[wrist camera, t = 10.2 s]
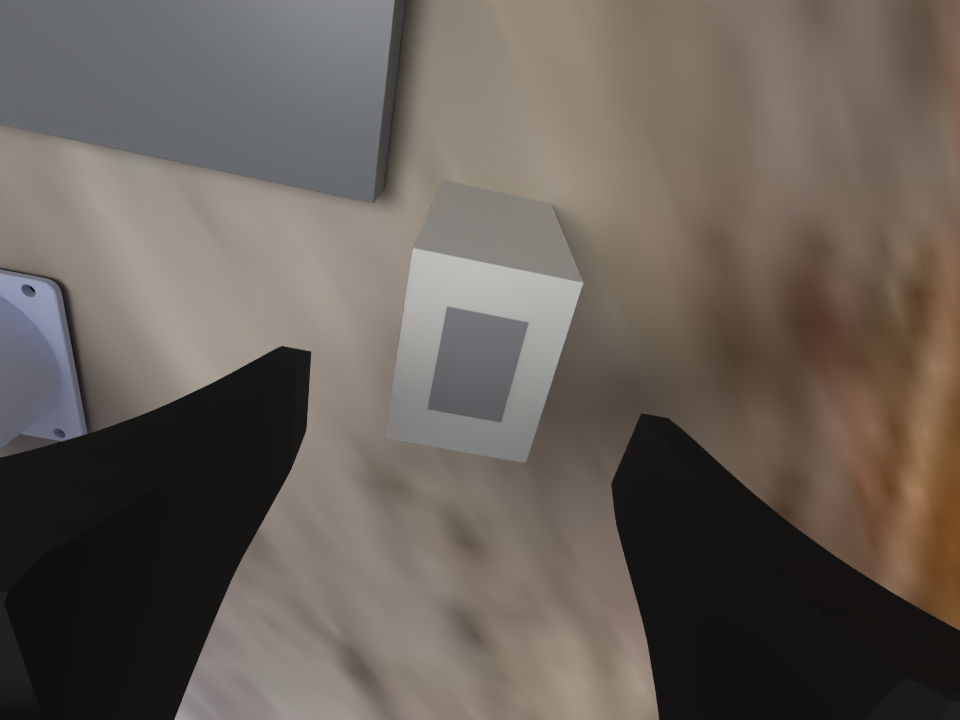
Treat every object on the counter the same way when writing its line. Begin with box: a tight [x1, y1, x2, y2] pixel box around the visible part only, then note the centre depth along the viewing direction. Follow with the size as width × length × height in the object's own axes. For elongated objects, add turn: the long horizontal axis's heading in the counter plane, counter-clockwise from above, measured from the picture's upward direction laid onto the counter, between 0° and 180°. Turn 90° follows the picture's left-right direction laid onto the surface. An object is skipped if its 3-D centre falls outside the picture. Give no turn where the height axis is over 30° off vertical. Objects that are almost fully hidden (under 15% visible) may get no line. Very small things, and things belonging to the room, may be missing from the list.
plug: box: [385, 180, 583, 463], centre depth 17 cm, size 4×6×8 cm
